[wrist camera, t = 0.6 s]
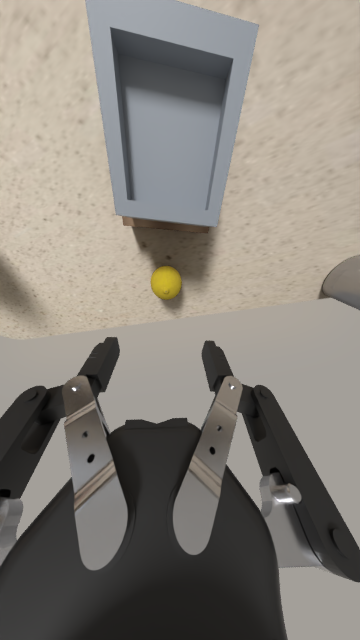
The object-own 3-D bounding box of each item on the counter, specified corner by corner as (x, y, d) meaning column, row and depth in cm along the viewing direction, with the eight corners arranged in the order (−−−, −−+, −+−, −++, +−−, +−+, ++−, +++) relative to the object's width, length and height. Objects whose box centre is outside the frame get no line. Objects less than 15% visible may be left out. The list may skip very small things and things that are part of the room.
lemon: (167, 293, 29) (166, 312, 23) (147, 275, 27) (140, 291, 20) (185, 276, 28) (190, 291, 21) (166, 254, 25) (165, 265, 18)
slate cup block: (223, 104, 13) (259, 24, 8) (204, 226, 19) (216, 226, 14) (119, 82, 12) (81, -28, 7) (132, 218, 18) (116, 214, 13)
